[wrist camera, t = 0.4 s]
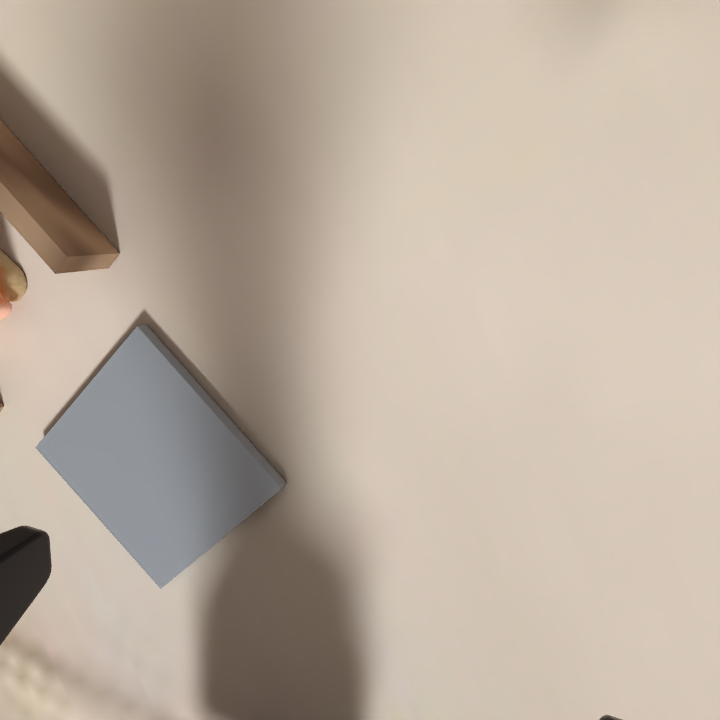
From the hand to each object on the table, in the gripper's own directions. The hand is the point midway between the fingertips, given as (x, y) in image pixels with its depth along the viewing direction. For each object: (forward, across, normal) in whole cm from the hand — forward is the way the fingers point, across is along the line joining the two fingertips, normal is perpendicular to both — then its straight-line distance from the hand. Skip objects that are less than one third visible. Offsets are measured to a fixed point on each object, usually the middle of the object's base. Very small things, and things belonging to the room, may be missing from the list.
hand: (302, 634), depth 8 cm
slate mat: (+14, +11, +10) cm, 20 cm away
